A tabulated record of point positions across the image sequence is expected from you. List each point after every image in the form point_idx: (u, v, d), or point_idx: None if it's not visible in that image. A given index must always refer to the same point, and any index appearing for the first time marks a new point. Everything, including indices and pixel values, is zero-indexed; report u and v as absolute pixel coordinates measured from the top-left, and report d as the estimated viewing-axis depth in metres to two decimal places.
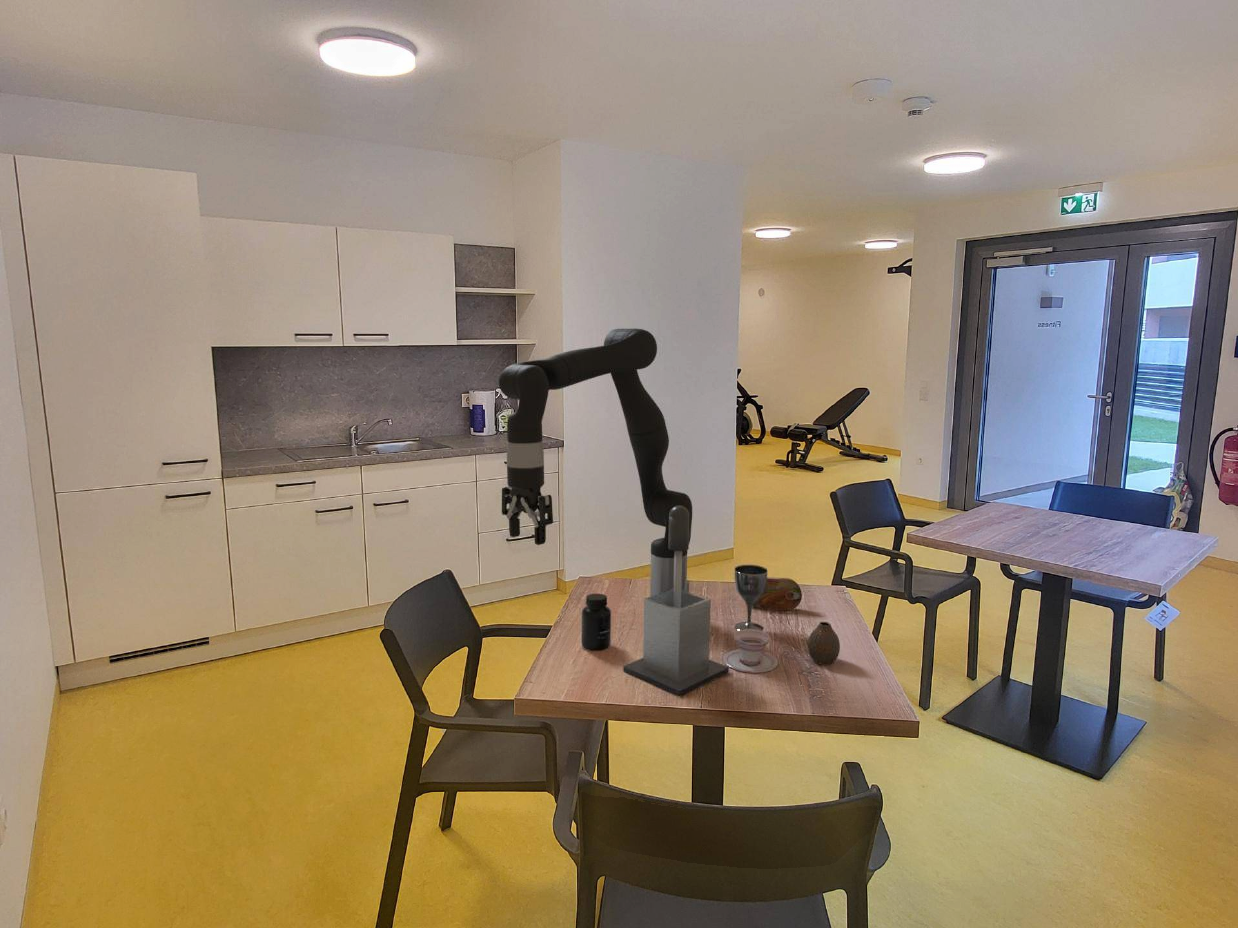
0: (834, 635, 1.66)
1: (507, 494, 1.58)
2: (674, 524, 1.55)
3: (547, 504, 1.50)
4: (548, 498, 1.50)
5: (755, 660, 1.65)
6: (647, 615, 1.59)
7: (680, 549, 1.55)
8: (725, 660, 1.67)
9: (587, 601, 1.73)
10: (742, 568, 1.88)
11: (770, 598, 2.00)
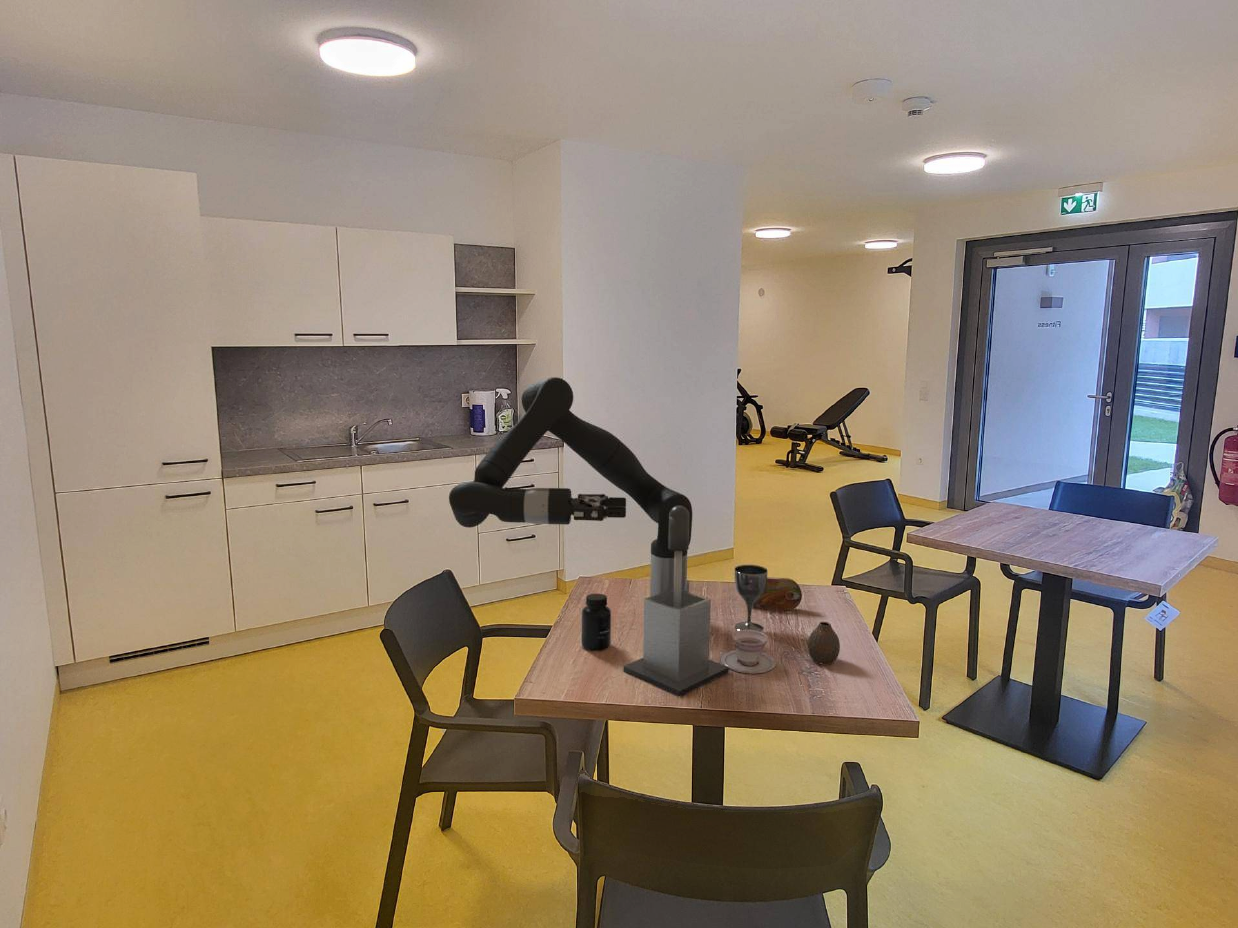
0: (834, 635, 1.66)
1: None
2: (674, 524, 1.55)
3: (582, 513, 1.49)
4: (576, 512, 1.49)
5: (753, 661, 1.64)
6: (647, 615, 1.59)
7: (680, 549, 1.55)
8: (723, 660, 1.67)
9: (587, 601, 1.73)
10: (742, 568, 1.88)
11: (770, 598, 2.00)
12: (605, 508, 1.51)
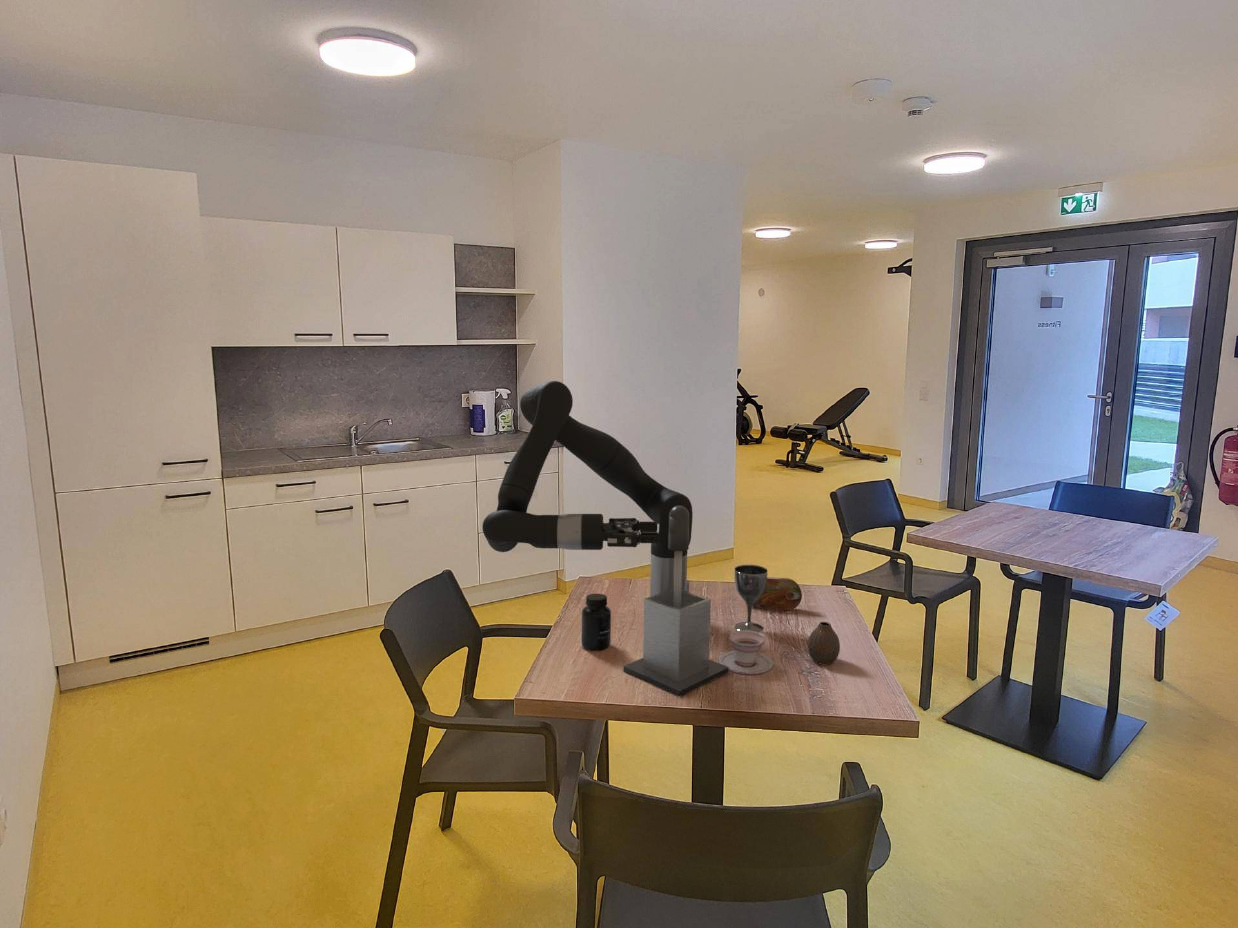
0: (834, 635, 1.66)
1: None
2: (674, 524, 1.55)
3: (615, 540, 1.50)
4: (609, 538, 1.50)
5: (750, 661, 1.64)
6: (647, 615, 1.59)
7: (680, 549, 1.55)
8: (720, 661, 1.67)
9: (587, 601, 1.73)
10: (742, 568, 1.88)
11: (770, 598, 2.00)
12: (638, 534, 1.52)
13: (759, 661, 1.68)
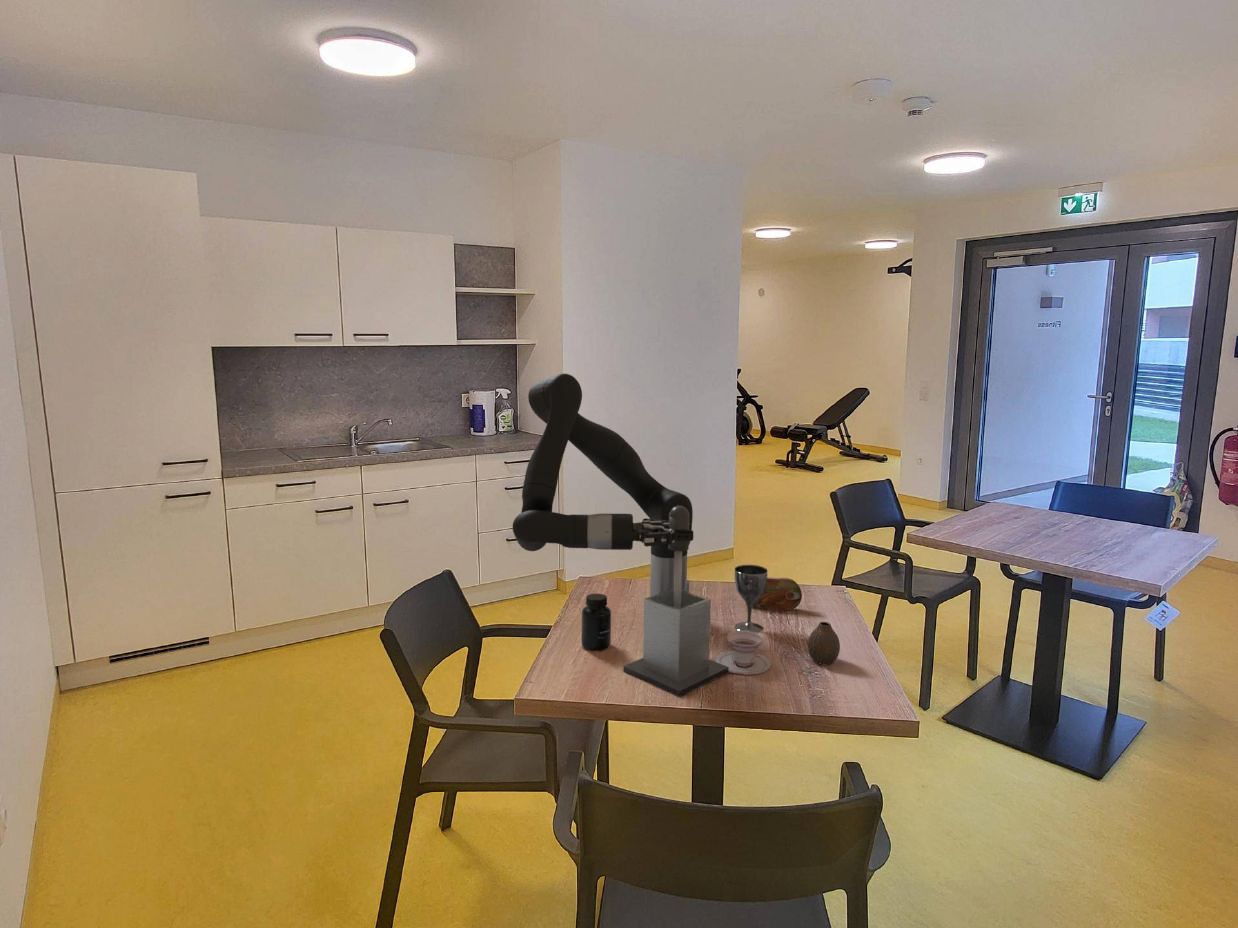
0: (834, 635, 1.66)
1: None
2: (674, 524, 1.55)
3: (653, 539, 1.51)
4: (648, 538, 1.50)
5: (747, 662, 1.64)
6: (647, 615, 1.59)
7: (680, 549, 1.55)
8: (718, 661, 1.67)
9: (587, 601, 1.73)
10: (742, 568, 1.88)
11: (770, 598, 2.00)
12: (674, 531, 1.54)
13: (756, 661, 1.67)
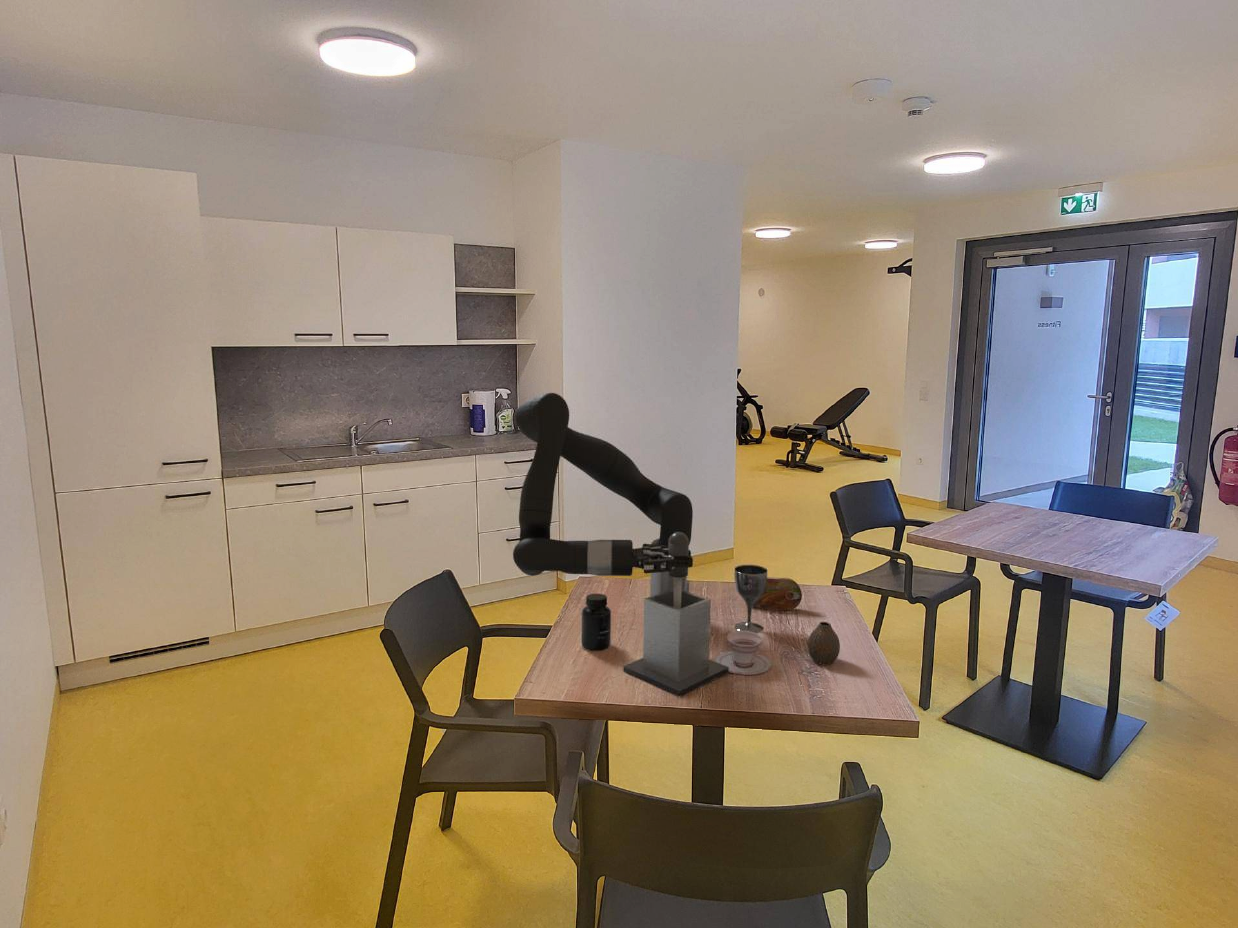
0: (834, 635, 1.66)
1: None
2: (673, 551, 1.56)
3: (653, 566, 1.52)
4: (647, 565, 1.51)
5: (747, 662, 1.64)
6: (647, 615, 1.59)
7: (679, 575, 1.56)
8: (717, 661, 1.67)
9: (587, 601, 1.73)
10: (742, 568, 1.88)
11: (770, 598, 2.00)
12: (673, 558, 1.55)
13: (756, 662, 1.67)
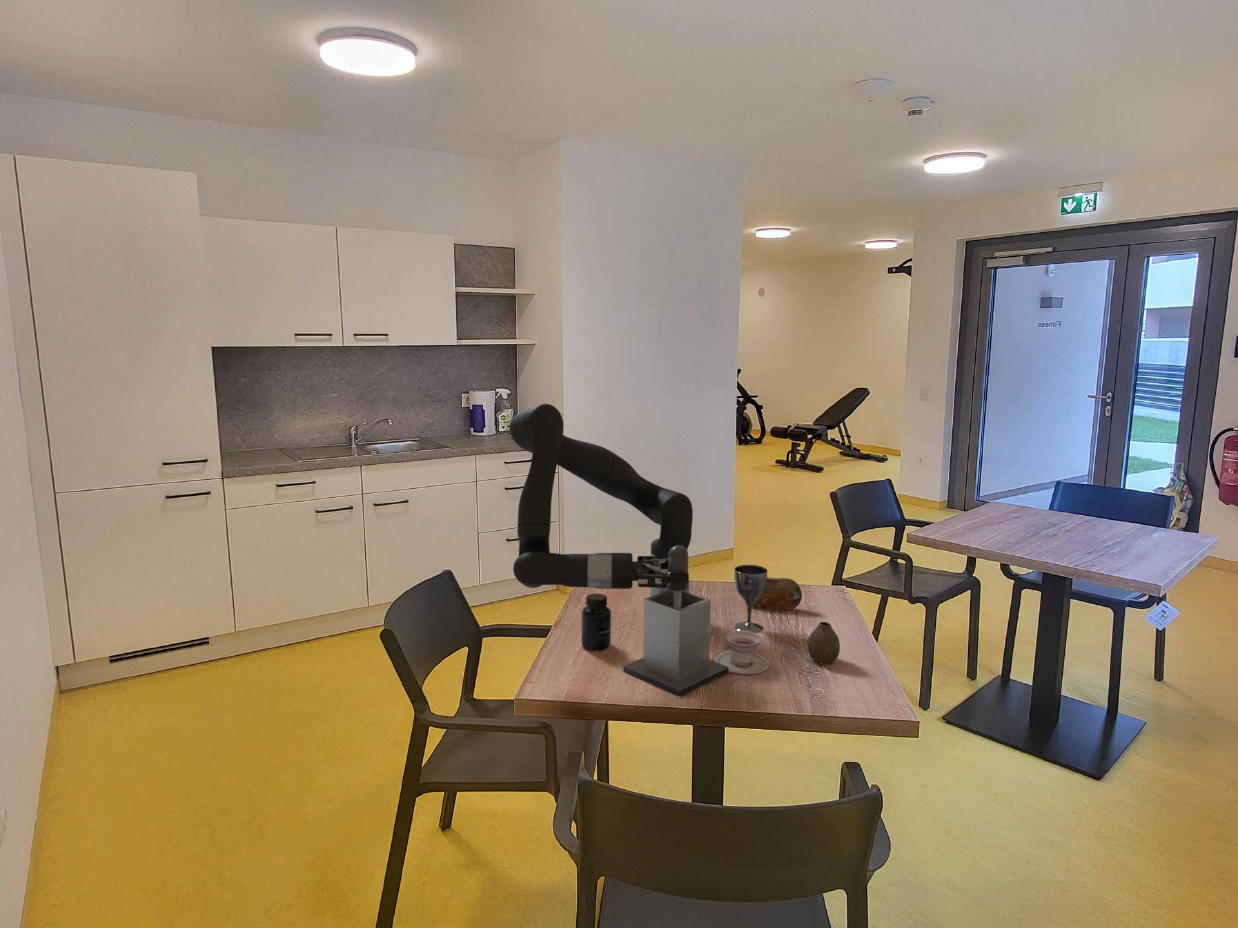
0: (834, 635, 1.66)
1: None
2: (673, 564, 1.56)
3: (646, 581, 1.52)
4: (640, 579, 1.52)
5: (746, 661, 1.64)
6: (647, 615, 1.59)
7: (679, 588, 1.57)
8: (716, 661, 1.67)
9: (587, 601, 1.73)
10: (742, 568, 1.88)
11: (770, 598, 2.00)
12: (668, 574, 1.53)
13: (755, 661, 1.67)
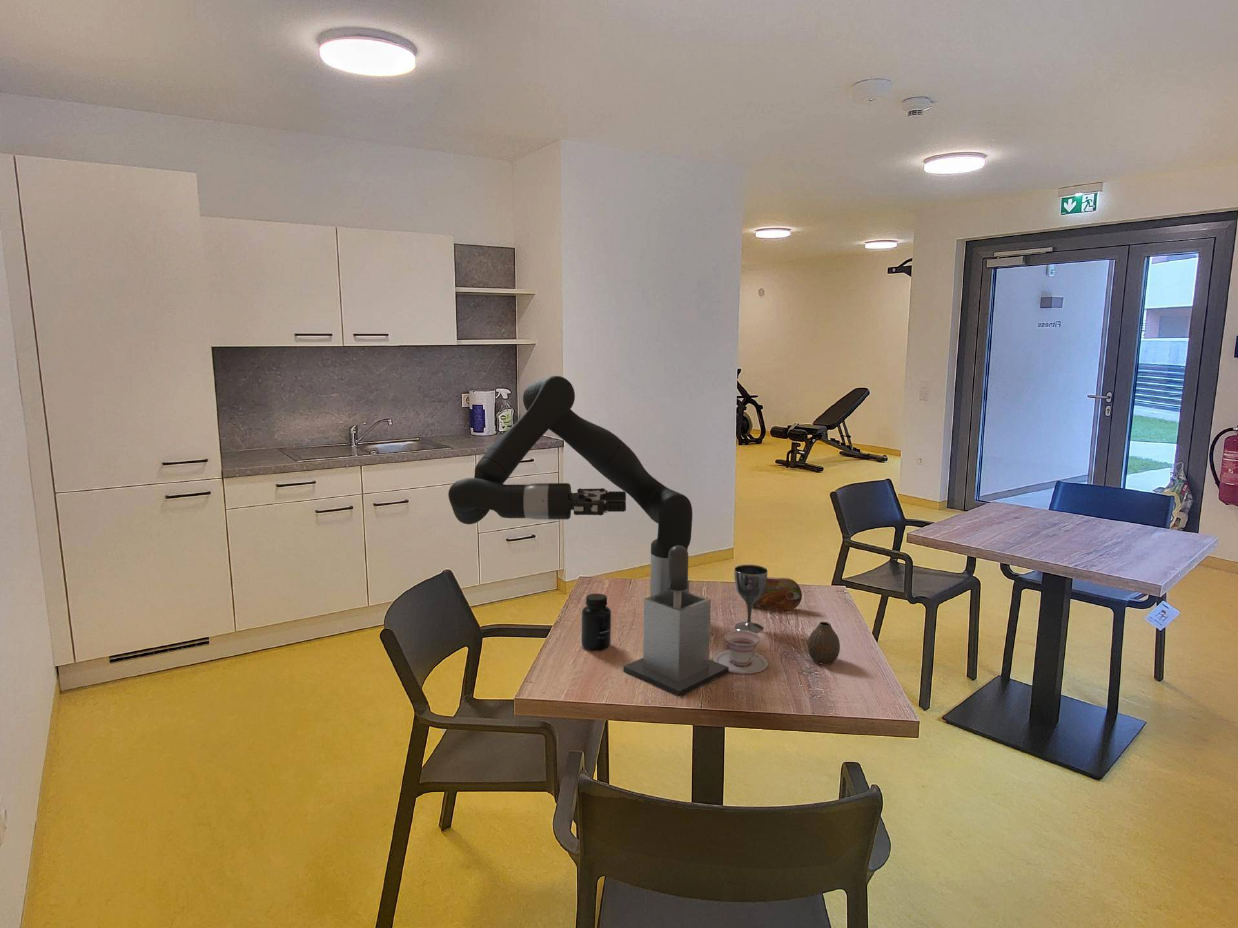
0: (834, 635, 1.66)
1: None
2: (673, 564, 1.56)
3: (582, 508, 1.49)
4: (576, 507, 1.49)
5: (745, 661, 1.64)
6: (647, 615, 1.59)
7: (679, 588, 1.57)
8: (715, 660, 1.67)
9: (587, 601, 1.73)
10: (742, 568, 1.88)
11: (770, 598, 2.00)
12: (605, 502, 1.51)
13: (754, 661, 1.68)
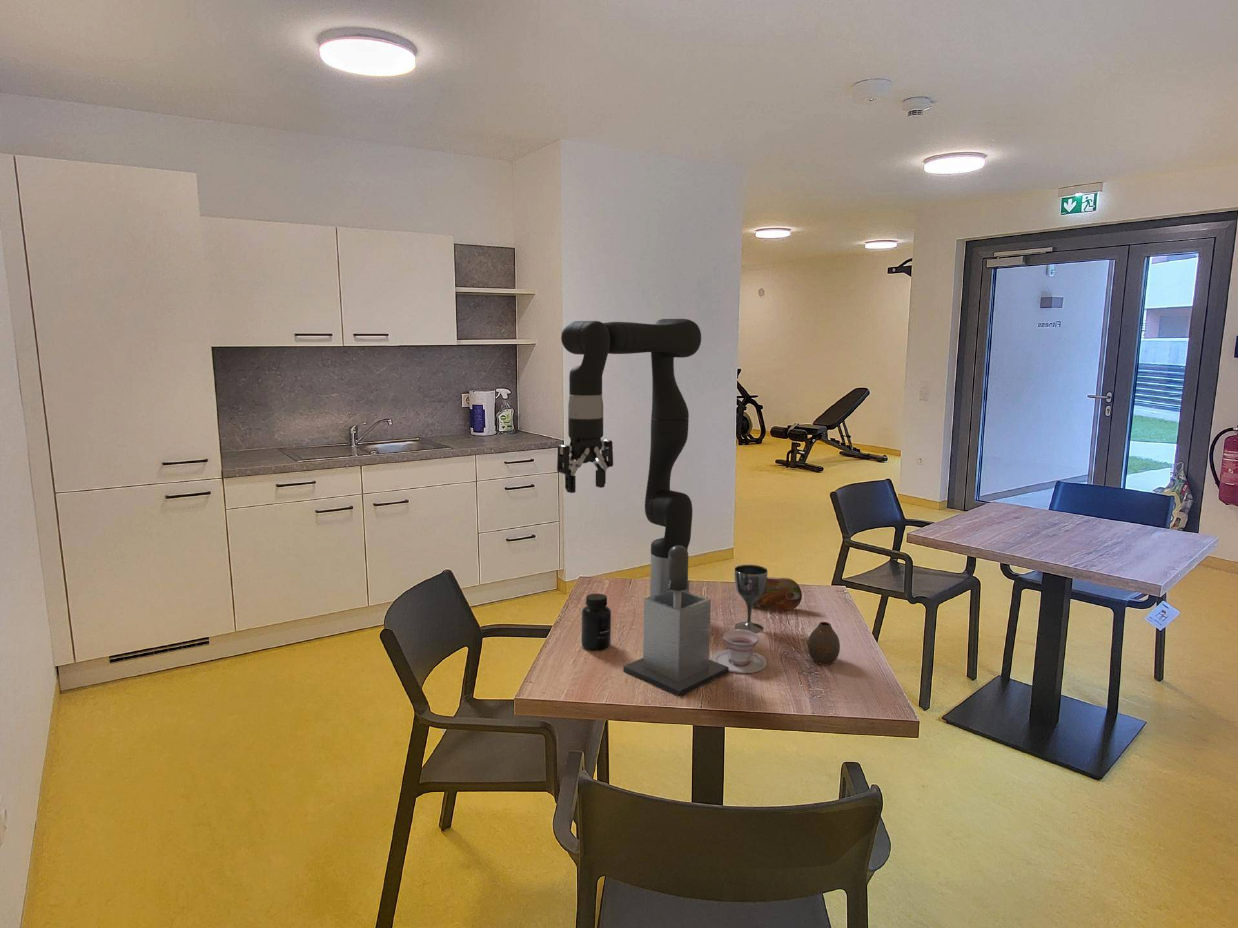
0: (834, 635, 1.66)
1: None
2: (673, 564, 1.56)
3: (561, 453, 1.58)
4: (562, 448, 1.58)
5: (743, 660, 1.64)
6: (647, 615, 1.59)
7: (679, 588, 1.57)
8: (714, 660, 1.67)
9: (587, 601, 1.73)
10: (742, 568, 1.88)
11: (770, 598, 2.00)
12: (570, 474, 1.59)
13: (753, 660, 1.68)
